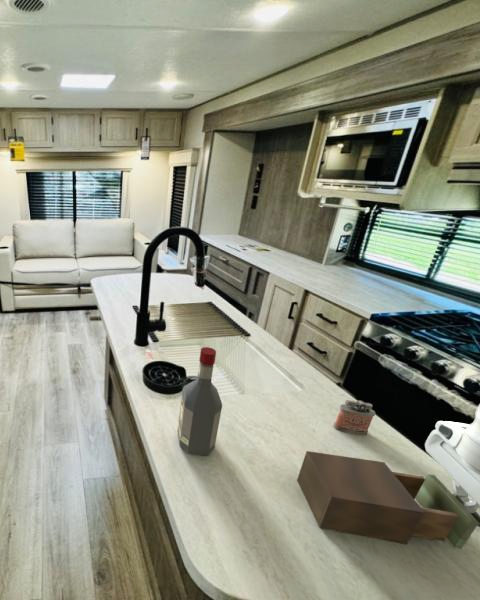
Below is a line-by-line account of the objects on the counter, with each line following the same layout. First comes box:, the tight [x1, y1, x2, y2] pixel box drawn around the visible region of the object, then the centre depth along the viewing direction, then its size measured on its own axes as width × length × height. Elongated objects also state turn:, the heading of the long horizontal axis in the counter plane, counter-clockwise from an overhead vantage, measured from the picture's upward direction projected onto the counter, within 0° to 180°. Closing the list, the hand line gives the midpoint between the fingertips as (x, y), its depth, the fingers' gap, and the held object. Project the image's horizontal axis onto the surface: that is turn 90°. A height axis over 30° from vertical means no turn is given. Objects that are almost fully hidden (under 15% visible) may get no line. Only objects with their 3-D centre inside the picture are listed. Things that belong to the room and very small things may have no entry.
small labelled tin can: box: [333, 399, 376, 436], centre depth 89 cm, size 8×3×10 cm, turn 74°
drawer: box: [392, 471, 480, 550], centre depth 66 cm, size 18×10×8 cm, turn 77°
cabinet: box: [296, 450, 425, 545], centre depth 68 cm, size 16×12×10 cm
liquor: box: [177, 346, 223, 457], centre depth 83 cm, size 9×9×30 cm
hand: (462, 505), depth 63 cm, fingers closed
